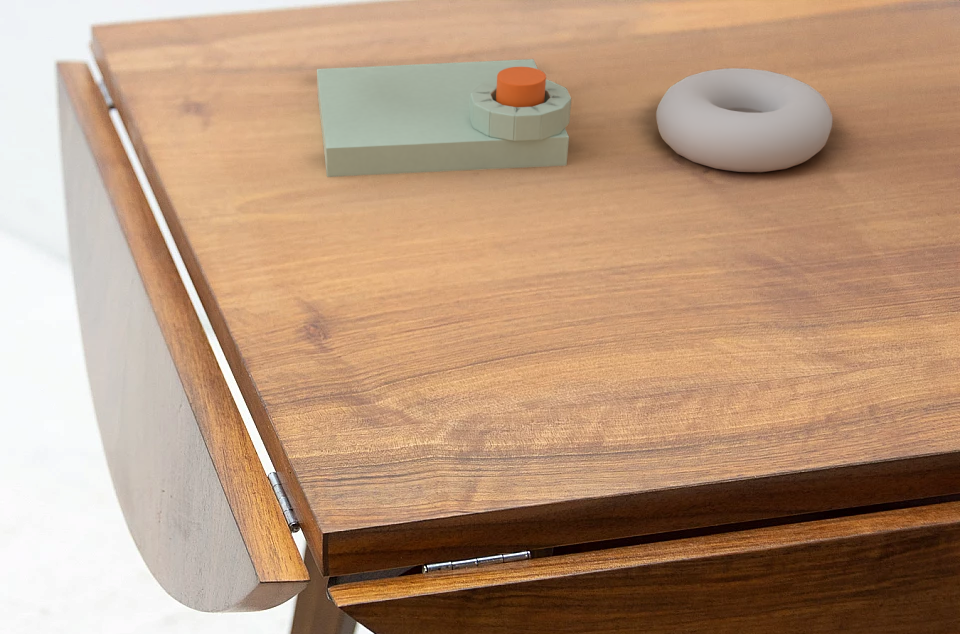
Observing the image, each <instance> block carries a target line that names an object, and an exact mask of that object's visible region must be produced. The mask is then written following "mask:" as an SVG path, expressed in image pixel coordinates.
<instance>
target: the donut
mask: <svg viewBox="0 0 960 634" xmlns="http://www.w3.org/2000/svg"><path fill="white" fill-rule="evenodd" d="M655 118H656V119H655V120H656V124H657V129H658V132H659V134H660V137H661V139H662V140H663V141H664V142H665V143H666V144H667V145H668V146H669V147H670V148H671V149H672V151H674V152H675V153H676V154H677V155H679V156H680V157H681V156H682V157H683V158H685V159H687V160H689V161H691V162H693V163H695V164H699V165H702V166H706V167H709V168H713V169H716V170H722V171H728V172H737V173H765V172H773V171H779V170H786V169H789V168H792V167H796V166H798V165H801V164H804V163H805V162H807V161H808V160H810V159H811V158H812V157H814V156H815V155H816V154H818V153H819V152H820V151H822V149H823V148H824V147H825V146H826V144H827V142H828V139H829V137H830V133H831V131H832V129H833V118H834V117H833V114H832V111H831V108H830V106H829V105H828V102H827V100H826V99H825V97H824V96H823V95H822V94H821V93H820V92H819V91H817V89H815V88H814V87H812V86H811V85H810V84H808V83H806V82H803V81H801V80H799V79H796V78H794V77H791V76H789V75H786V74H783V73H778V72H774V71H771V70H764V69H755V68H743V67H742V68H739V67H737V68H734V67H733V68H726V67H725V68H719V69H711V70H705V71H702V72H698V73H695V74H691V75H688V76H686V77H684V78H682V79H681V80H679V81H677V82H676V83H674V84H673V85H671V86H670V87H668V89H667V90H666V92H665V93H664V95H663V96H662V98H661V100H660V101H659V103H658V105H657V109H656V111H655Z"/></svg>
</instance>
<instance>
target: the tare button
mask: <svg viewBox="0 0 960 634" xmlns="http://www.w3.org/2000/svg"><path fill="white" fill-rule="evenodd" d="M546 80H547V76H546V73H545V72H544V71H542V70H540V69H539V68H538V69H535V68H530V67H511V68H506V69H504V70H502V71H500V72H499V73H498V75H497V90H496V102H498V103H500V104H502V105H506V106H512V107H533V106H536V105H539V104H542V103H544V99H545V85H546Z"/></svg>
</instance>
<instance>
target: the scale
mask: <svg viewBox="0 0 960 634" xmlns="http://www.w3.org/2000/svg"><path fill="white" fill-rule="evenodd" d="M511 67H530V68H535V69H538V70H539V67H538V65H537V63H536V61H535V59H534V58H527V59H525V58H524V59H523V58H522V59H505V60H503V59H502V60H483V61H482V60H481V61H480V60H479V61H462V62H440V63H438V62H437V63H436V62H435V63H417V64H416V63H415V64H398V65H397V64H396V65H376V66H375V65H373V66H355V67H353V66H352V67H332V68H317V69H316V86H317V87H316V88H317V102H318V109H319V119H320V128H321V134H322V135H321V137H322V146H323V154H324V163H325V172H326V177H327V178H333V177H334V178H337V177H354V176H356V177H357V176H375V175H376V176H377V175H378V176H379V175H397V174H399V175H400V174H401V175H402V174H419V173H441V172H460V171H463V172H464V171H480V170H481V171H482V170H498V169H499V170H503V169H523V168H544V167H565V166H566V167H567V165H568V155H569V143H570V136H569V134H568V132H567V129H566V128H567V127H568V126H569V124H570V122H571V121H570V120H571V119H570V118H571V108H572V96H571V95H570V92H569V91H568V88H566V87H565V86H563V85H561V84H558V83H556V82H554V81H552V80H549V79H546V85H545V99H544V103H542V104H539V105H536V106H533V107H512V106H506V105H502V104H500V103H498V102H496V90H497V75H498V73H499V72H500V71H502V70H504V69H506V68H511Z"/></svg>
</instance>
